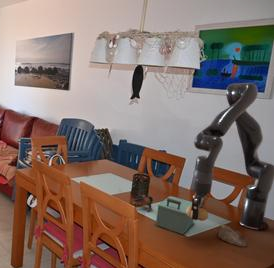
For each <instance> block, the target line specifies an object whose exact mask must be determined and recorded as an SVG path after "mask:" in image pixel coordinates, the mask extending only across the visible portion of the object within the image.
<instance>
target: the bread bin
mask: <svg viewBox="0 0 274 268" xmlns="http://www.w3.org/2000/svg"><path fill="white" fill-rule="evenodd" d="M193 224H194V220H193V219H192V218H191V217H189V216H188V215H187V214H186V215H185V214H181V213H178V212H175V211H172V210H168V209H165V208H162V207H159V206H158V205H157V213H156V219H155V226H158V227H160V228H163V229H166V230H169V231H172V232H175V233H178V234H181V235H184V234H185V233H186V231H187V230H188V229H190V228H191V226H192V225H193Z"/></svg>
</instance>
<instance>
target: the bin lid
mask: <svg viewBox="0 0 274 268" xmlns="http://www.w3.org/2000/svg"><path fill="white" fill-rule="evenodd" d="M158 206H159V207H162V208H165V209H168V210H172V211H175V212H178V213H181V214H185V215H186V209H187V208H188V207H189V206H192V201H190V200H186V199H182V198H179V197H175V196H171V195H169V196H168V197H167V198H166V199H164V200H162V201H161V202H159V203H158V204H157V207H158Z"/></svg>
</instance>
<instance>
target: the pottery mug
mask: <svg viewBox="0 0 274 268" xmlns="http://www.w3.org/2000/svg"><path fill="white" fill-rule="evenodd" d="M144 202H145V204H146V206H147V207H146V211H147V212H150V211H152V204H153V202H154V199H153V197H152V196H151V195H149V196H148V195H147V196H146V195H145V194H141V195H138V196H135V197H134V198H132V205H135V206H138V204H141V205H143V204H144Z"/></svg>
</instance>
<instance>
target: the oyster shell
mask: <svg viewBox="0 0 274 268" xmlns="http://www.w3.org/2000/svg"><path fill="white" fill-rule="evenodd" d="M219 226H220V228H219V230H218V231H219V232H218V234H217V235H218V238H220V239H221V241H225V242H227V243H229V244H232V245H234V246H235V245H236V246H238V247H246V242H245V240H244V238H242V237H241V236H242V234H241V231H237V230H233V228H231V227H230V226H227V225H225V224H220V225H219Z"/></svg>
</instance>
